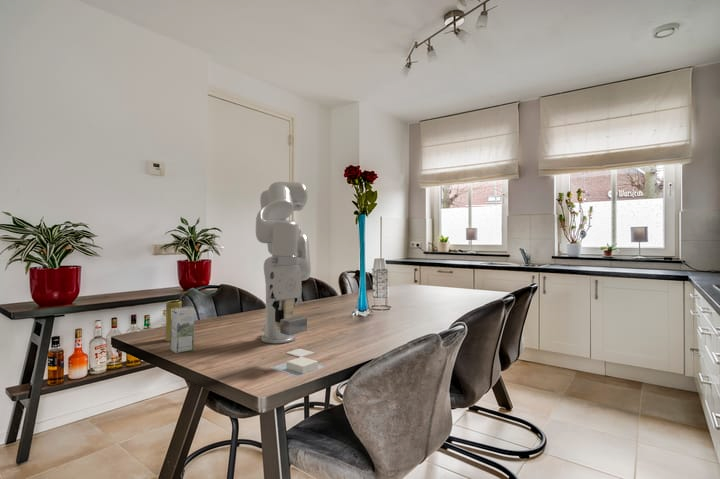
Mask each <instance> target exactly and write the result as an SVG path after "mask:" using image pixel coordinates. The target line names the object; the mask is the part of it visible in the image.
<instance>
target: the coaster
mask: <svg viewBox="0 0 720 479" xmlns="http://www.w3.org/2000/svg"><path fill="white" fill-rule="evenodd" d="M285 354H287V355H290V356H294V357H296V358H299V357H304V358H306V357H308V356H311V355H314V354H315V352H314V351H310V350H307V349H302V348H297V349H293V350H289V351H287V352H286V353H285Z"/></svg>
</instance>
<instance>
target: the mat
mask: <svg viewBox="0 0 720 479" xmlns="http://www.w3.org/2000/svg"><path fill="white" fill-rule="evenodd" d="M323 368H325V366H323V365H320V364H318V368H317V369H315V370H312V371H309V372H307V373H304V374H302V373H299V372H296V371H293V370H290V369H287V368H286V362H283V363H281V364H280V363H279V364H277V365H274V366H271V367H269V369H272V370H273V371H274V370H275V371H278V372H280V373H284V374H288V375H290V376H293V377H295V378H299V377H301V376H304V375H307V374H310V373H313V372H315V371H317V370H318V371H319V370H320V369H323Z"/></svg>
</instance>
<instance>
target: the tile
mask: <svg viewBox="0 0 720 479" xmlns="http://www.w3.org/2000/svg"><path fill="white" fill-rule="evenodd" d="M285 363H286V368H287V369H290V370H293V371H296V372H299V373H302V374H304V373H307V372H309V371H312V370H315V369H317V368H318V365H319V361H318V360H315V359H311V358H308V357H295V358H294V359H290V360H287V361H286V362H285ZM315 371H316V370H315ZM307 374H308V373H307Z"/></svg>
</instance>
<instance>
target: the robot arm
mask: <svg viewBox="0 0 720 479" xmlns="http://www.w3.org/2000/svg"><path fill="white" fill-rule="evenodd" d="M259 199H260V200H259V201H260V208H261V209H260V210H259V211H258V212H257V214H256V218H255V236H256V240H257V241H258V242H259V243H262V244H267V245H266V246H267V251H268V253H269V254H270V255H271V256H269V257H267V258H266V259H265V260H264V262H263V275H264V281H265V325H264V326H263V327H261V328H260V331H261V332H263V334H264V335H262V336H261V338H260V340H261V341H262V342H263V343H266V344H275V345H277V344H286V343H291V342H293V341H295V340H296V334H293V335H290V336H289V335H285V334H282V333H280V330H278V329H275V321H276V322H279V323H280V320H281V319H284V310H282V305H283V300H286V299H292V298H293V308H294V307H295V306H296V303H297V301H298V300H299V299H300V298H301V297H302V293H303V292H302V291H303V290H302V286H303V285H302V282H303V281H307V280H308V279H309V278H310V276H311V274H312V273H311V269H312V268H311V255H310V244H309V239H308V236H307V234H305V233H304V232H302V228H301V225H300V223H298V222H297V221H295V220H287V219H288V218H289V217H290V216H291V215H292V214H293V212H299V211H302V210H303V209H304V207H305V205H306V204H307V201H308V189H307V187H306V185H305V184H304V183H303V182H296V181H295V182H294V181H276V182H273V183H272V184H270V185H269V187H268V189H267V190H264V191H262V192H261V193H260V198H259ZM278 301H279V303H278Z"/></svg>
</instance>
